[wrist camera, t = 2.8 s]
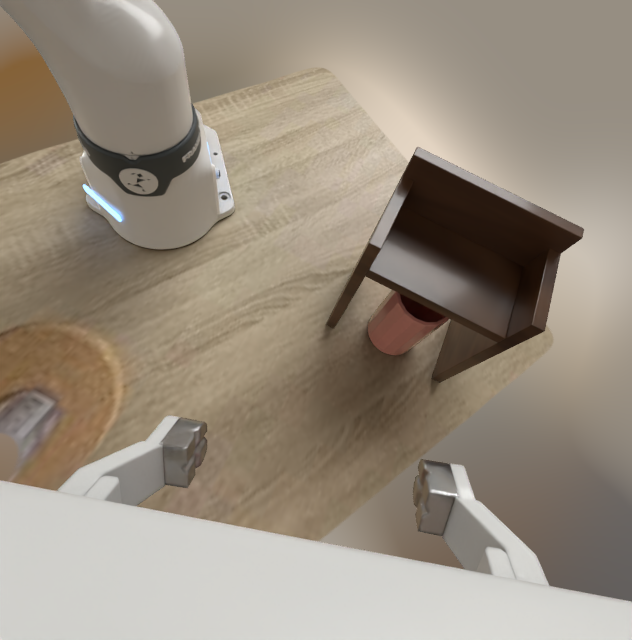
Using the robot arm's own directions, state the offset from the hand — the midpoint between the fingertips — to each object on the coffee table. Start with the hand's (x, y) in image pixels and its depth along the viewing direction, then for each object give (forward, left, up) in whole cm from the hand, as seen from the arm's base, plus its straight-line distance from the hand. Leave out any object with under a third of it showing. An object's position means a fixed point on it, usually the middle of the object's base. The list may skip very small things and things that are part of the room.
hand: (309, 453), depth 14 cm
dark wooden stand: (-17, +18, -29) cm, 38 cm away
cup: (-16, +17, -29) cm, 37 cm away
